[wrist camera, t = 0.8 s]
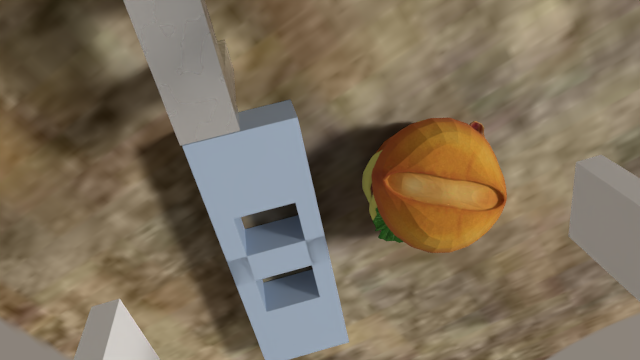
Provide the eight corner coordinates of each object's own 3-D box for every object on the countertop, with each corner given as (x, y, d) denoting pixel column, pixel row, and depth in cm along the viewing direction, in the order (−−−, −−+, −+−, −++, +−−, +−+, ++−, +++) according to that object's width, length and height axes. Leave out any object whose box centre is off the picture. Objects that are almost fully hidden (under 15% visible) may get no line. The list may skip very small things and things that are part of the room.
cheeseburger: (380, 245, 40) (410, 308, 30) (332, 137, 36) (349, 169, 27) (486, 198, 39) (551, 247, 29) (446, 85, 36) (505, 98, 26)
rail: (186, 125, 31) (182, 146, 28) (290, 99, 32) (297, 117, 29) (264, 334, 42) (267, 365, 39) (340, 313, 43) (349, 342, 40)
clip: (139, -63, 25) (99, -60, 17) (191, -75, 26) (176, -77, 17) (191, 87, 30) (179, 145, 22) (235, 76, 30) (240, 130, 22)
